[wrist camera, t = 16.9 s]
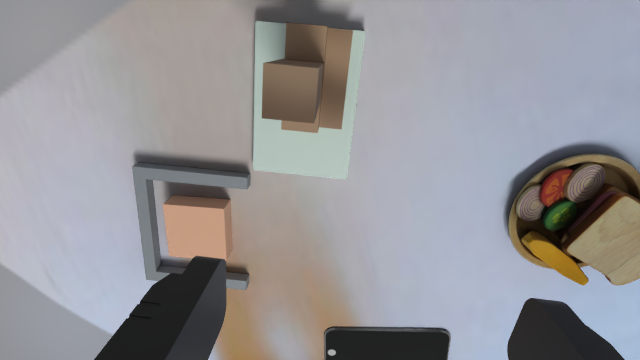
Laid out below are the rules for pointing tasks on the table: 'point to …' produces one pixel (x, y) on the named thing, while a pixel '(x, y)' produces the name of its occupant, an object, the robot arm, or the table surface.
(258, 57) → the board
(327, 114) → the brown block
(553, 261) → the toy sandwich meal
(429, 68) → the table surface
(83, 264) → the table surface
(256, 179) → the table surface
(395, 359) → the smartphone
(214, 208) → the tile
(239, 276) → the bay
